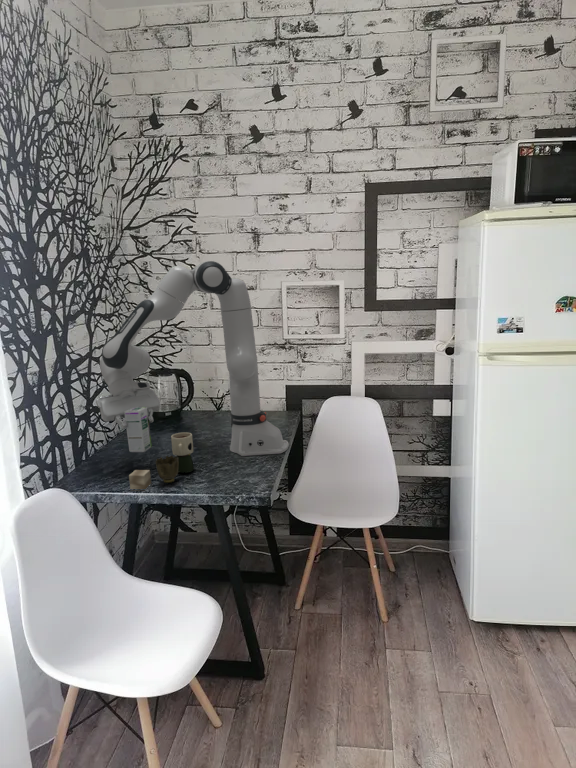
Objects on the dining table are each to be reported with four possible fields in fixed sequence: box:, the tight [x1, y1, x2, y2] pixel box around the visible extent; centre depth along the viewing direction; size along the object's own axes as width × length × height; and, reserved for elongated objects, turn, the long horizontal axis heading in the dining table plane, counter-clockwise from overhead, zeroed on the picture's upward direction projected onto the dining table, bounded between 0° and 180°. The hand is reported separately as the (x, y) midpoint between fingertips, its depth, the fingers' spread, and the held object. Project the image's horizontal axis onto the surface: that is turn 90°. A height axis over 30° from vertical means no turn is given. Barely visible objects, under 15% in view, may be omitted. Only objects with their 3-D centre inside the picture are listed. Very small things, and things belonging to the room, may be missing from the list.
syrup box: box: [124, 407, 153, 453], centre depth 189 cm, size 6×6×14 cm
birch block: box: [128, 469, 152, 490], centre depth 178 cm, size 5×5×5 cm
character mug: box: [170, 431, 195, 474], centre depth 190 cm, size 11×7×13 cm, turn 3°
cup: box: [154, 454, 179, 484], centre depth 181 cm, size 8×7×8 cm
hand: (138, 424), depth 188 cm, fingers closed on syrup box, 8 cm apart
